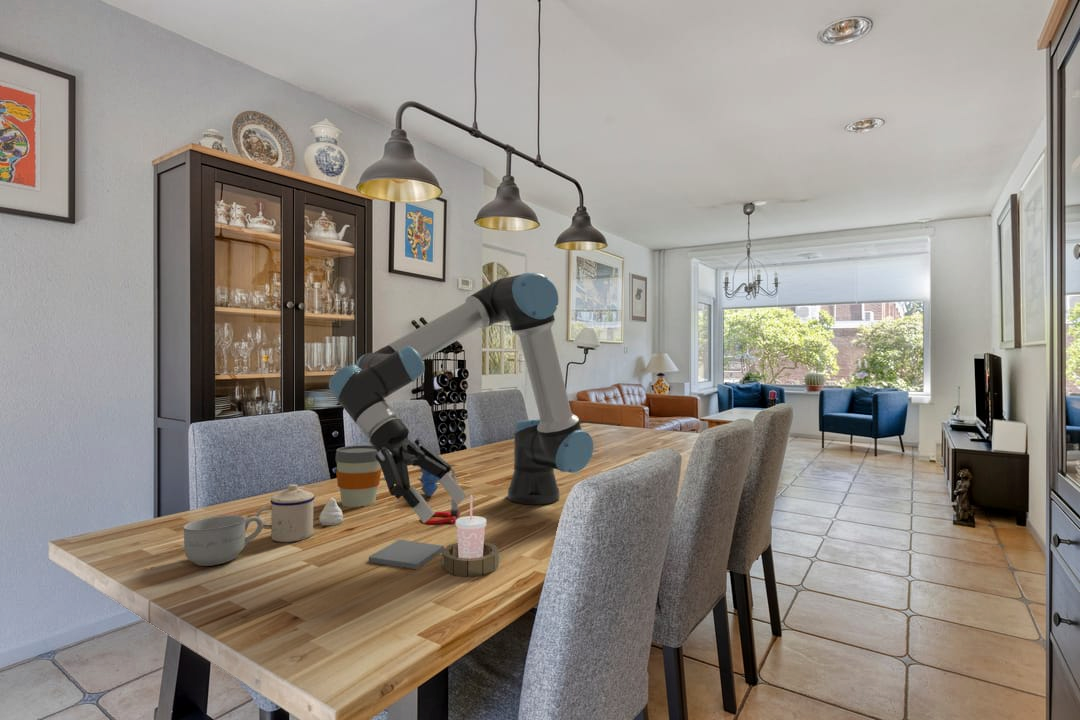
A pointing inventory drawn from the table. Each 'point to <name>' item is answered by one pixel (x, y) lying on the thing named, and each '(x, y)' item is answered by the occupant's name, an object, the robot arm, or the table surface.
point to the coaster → (406, 554)
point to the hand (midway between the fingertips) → (446, 509)
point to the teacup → (217, 538)
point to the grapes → (428, 482)
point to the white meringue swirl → (331, 514)
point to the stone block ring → (470, 561)
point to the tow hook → (451, 515)
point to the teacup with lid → (290, 515)
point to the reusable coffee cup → (357, 475)
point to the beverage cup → (470, 535)
